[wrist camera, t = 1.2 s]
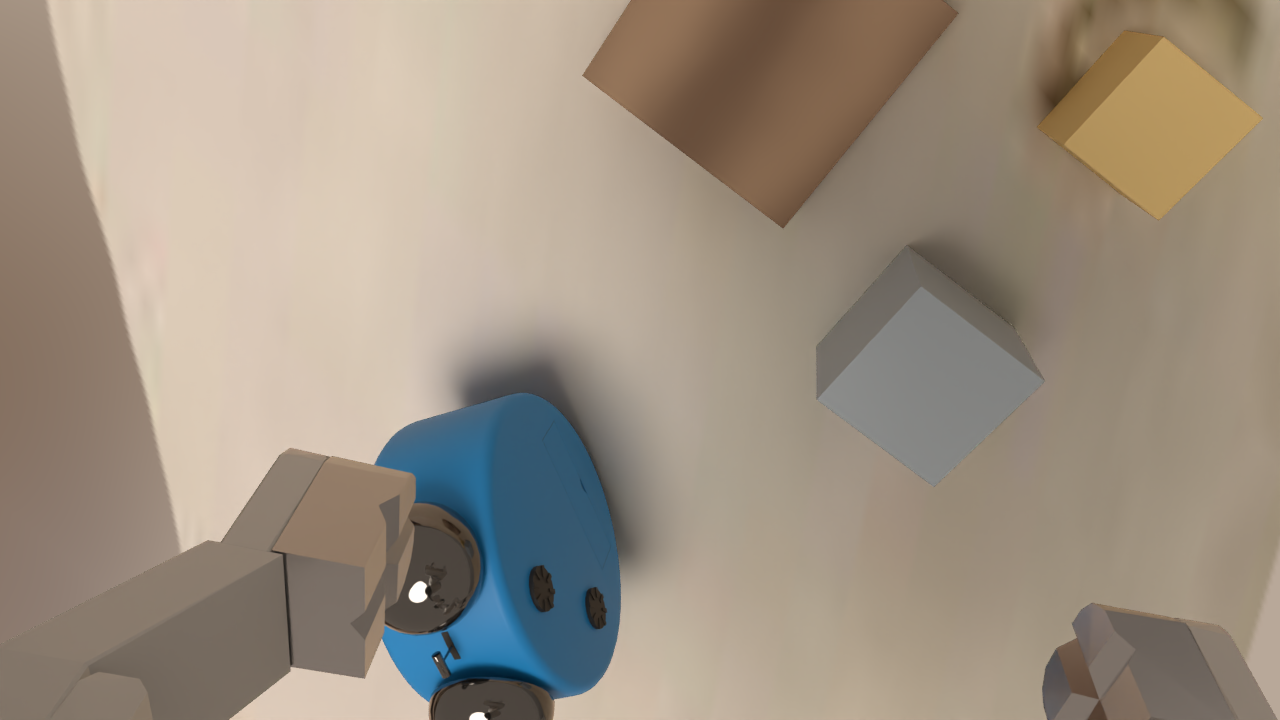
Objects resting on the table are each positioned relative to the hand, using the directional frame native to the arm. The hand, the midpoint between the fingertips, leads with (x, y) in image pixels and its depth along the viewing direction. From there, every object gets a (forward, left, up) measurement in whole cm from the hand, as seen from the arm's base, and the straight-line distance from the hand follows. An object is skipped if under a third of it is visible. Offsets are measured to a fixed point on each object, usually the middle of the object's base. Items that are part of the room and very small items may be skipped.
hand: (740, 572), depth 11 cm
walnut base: (+4, -3, -31) cm, 31 cm away
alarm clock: (0, +20, -31) cm, 37 cm away
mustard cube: (-9, -9, -31) cm, 33 cm away
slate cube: (-9, +3, -31) cm, 32 cm away
